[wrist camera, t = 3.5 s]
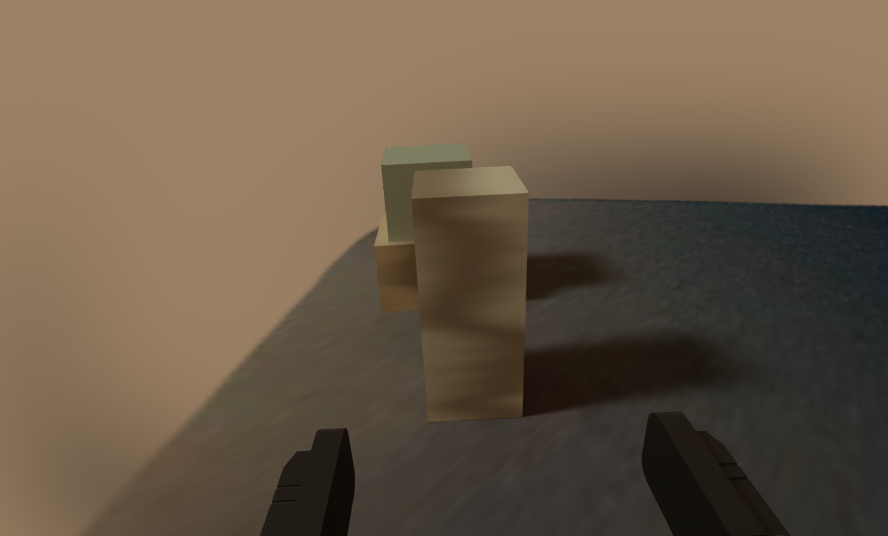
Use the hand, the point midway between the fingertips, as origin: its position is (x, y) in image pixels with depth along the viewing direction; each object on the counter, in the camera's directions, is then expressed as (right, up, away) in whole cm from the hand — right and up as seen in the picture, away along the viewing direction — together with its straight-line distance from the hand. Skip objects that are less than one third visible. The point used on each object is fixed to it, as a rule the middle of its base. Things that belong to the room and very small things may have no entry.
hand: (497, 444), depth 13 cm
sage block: (-2, +8, +21) cm, 23 cm away
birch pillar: (0, -2, +12) cm, 12 cm away
